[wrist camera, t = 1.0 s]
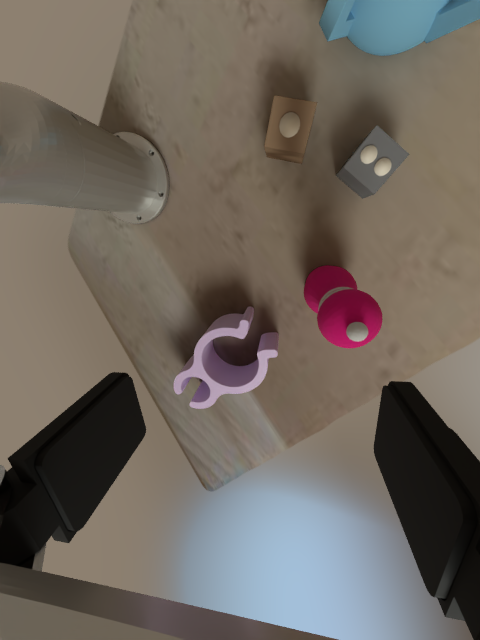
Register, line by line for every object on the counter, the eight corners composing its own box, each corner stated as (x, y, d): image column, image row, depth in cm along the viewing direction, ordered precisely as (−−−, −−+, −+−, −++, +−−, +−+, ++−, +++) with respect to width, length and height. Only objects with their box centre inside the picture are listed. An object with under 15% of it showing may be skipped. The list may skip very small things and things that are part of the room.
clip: (217, 397, 51) (207, 421, 45) (174, 358, 50) (158, 377, 43) (288, 344, 44) (289, 363, 38) (241, 295, 42) (234, 307, 36)
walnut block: (267, 157, 34) (264, 145, 29) (276, 114, 32) (274, 94, 28) (301, 163, 34) (304, 153, 29) (312, 120, 32) (317, 101, 27)
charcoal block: (335, 175, 34) (343, 167, 29) (363, 139, 32) (377, 124, 27) (362, 198, 34) (374, 194, 29) (391, 164, 32) (410, 153, 27)
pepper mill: (324, 314, 41) (356, 385, 22) (292, 286, 40) (298, 337, 22) (358, 282, 38) (427, 333, 20) (325, 252, 37) (363, 276, 19)
